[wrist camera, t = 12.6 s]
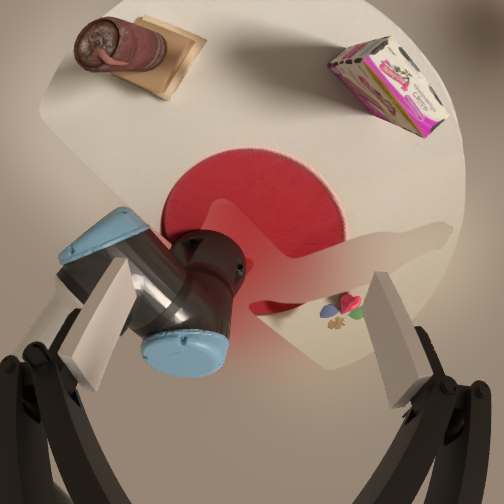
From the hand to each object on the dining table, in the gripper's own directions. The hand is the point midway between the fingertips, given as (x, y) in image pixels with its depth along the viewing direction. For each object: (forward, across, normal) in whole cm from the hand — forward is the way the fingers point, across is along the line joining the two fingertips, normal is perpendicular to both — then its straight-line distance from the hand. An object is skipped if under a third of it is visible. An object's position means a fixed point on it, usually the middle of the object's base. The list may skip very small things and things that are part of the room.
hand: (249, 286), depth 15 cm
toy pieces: (+33, -21, +34) cm, 52 cm away
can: (+28, +15, -15) cm, 35 cm away
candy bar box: (+33, -15, -12) cm, 38 cm away
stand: (+33, +16, -15) cm, 39 cm away
